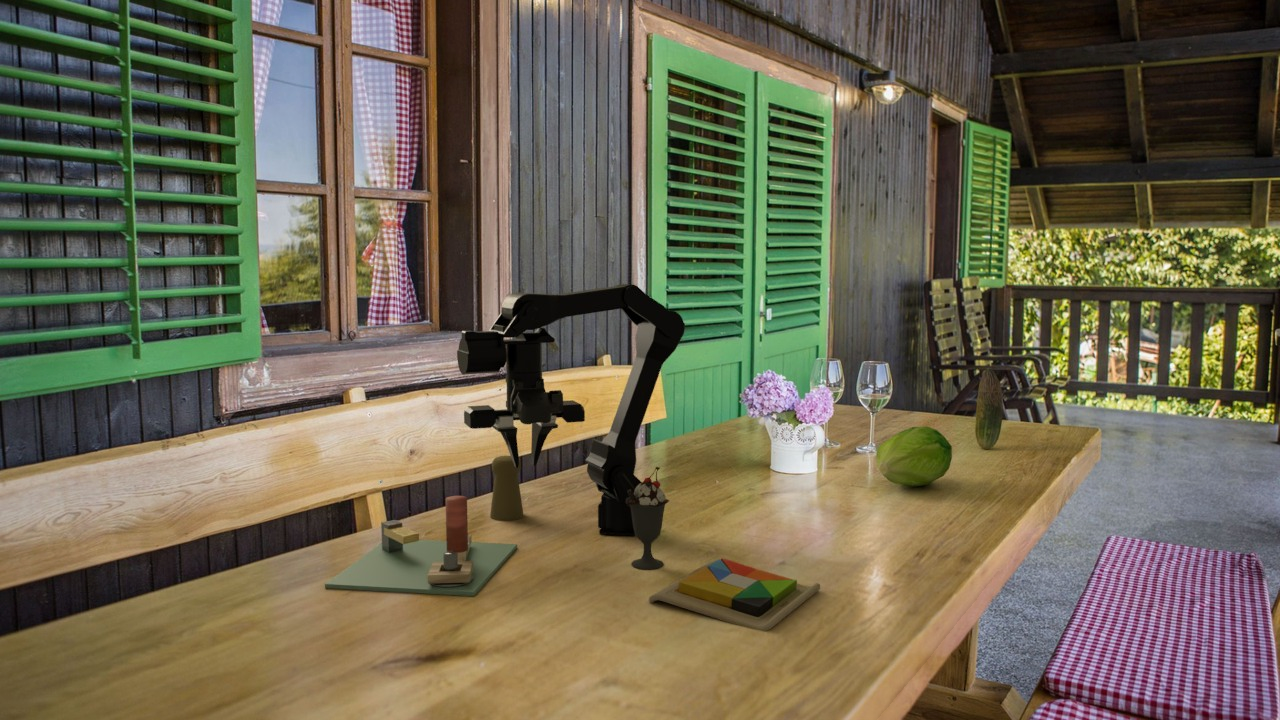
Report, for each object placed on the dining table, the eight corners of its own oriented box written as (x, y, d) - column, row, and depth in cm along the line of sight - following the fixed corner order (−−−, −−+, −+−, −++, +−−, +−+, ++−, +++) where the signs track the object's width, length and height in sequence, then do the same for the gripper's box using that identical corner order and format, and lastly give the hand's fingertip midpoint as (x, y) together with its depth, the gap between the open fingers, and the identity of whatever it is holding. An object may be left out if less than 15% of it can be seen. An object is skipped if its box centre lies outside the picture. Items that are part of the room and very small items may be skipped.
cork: (517, 521, 167) (516, 460, 166) (485, 519, 168) (484, 459, 167) (527, 512, 173) (527, 453, 172) (496, 510, 174) (496, 452, 173)
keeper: (381, 553, 149) (380, 522, 148) (396, 549, 151) (395, 519, 150) (403, 565, 143) (403, 533, 143) (419, 561, 145) (418, 530, 144)
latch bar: (469, 582, 132) (468, 518, 131) (427, 583, 132) (426, 519, 131) (480, 541, 151) (479, 486, 150) (444, 542, 150) (443, 486, 149)
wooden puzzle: (772, 637, 118) (773, 610, 117) (644, 607, 128) (644, 582, 127) (823, 595, 132) (823, 571, 132) (705, 571, 142) (705, 548, 142)
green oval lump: (850, 490, 189) (852, 432, 188) (903, 474, 203) (904, 420, 202) (912, 503, 179) (914, 442, 178) (963, 485, 193) (965, 428, 192)
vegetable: (971, 445, 234) (974, 366, 232) (997, 446, 234) (1001, 366, 231) (976, 450, 228) (980, 369, 226) (1003, 451, 228) (1007, 369, 225)
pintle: (479, 577, 138) (478, 547, 137) (465, 593, 131) (464, 561, 131) (437, 575, 139) (437, 545, 138) (421, 590, 132) (420, 559, 132)
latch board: (517, 547, 152) (517, 544, 152) (474, 596, 130) (473, 592, 130) (388, 541, 155) (388, 538, 155) (324, 588, 133) (324, 583, 133)
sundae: (674, 560, 146) (675, 465, 144) (661, 573, 140) (661, 475, 138) (634, 555, 148) (634, 462, 146) (619, 568, 142) (619, 471, 140)
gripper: (477, 380, 140) (478, 482, 141) (595, 374, 146) (595, 472, 148) (462, 371, 150) (464, 467, 152) (573, 366, 157) (574, 458, 158)
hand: (525, 466), depth 152 cm, fingers open, 3 cm apart
